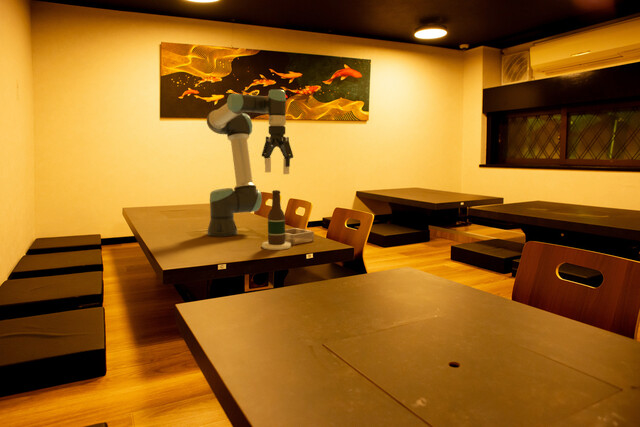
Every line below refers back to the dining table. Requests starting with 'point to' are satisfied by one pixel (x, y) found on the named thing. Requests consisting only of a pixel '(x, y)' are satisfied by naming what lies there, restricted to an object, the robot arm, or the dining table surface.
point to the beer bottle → (276, 221)
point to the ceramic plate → (276, 246)
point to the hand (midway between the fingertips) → (276, 173)
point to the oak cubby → (298, 236)
